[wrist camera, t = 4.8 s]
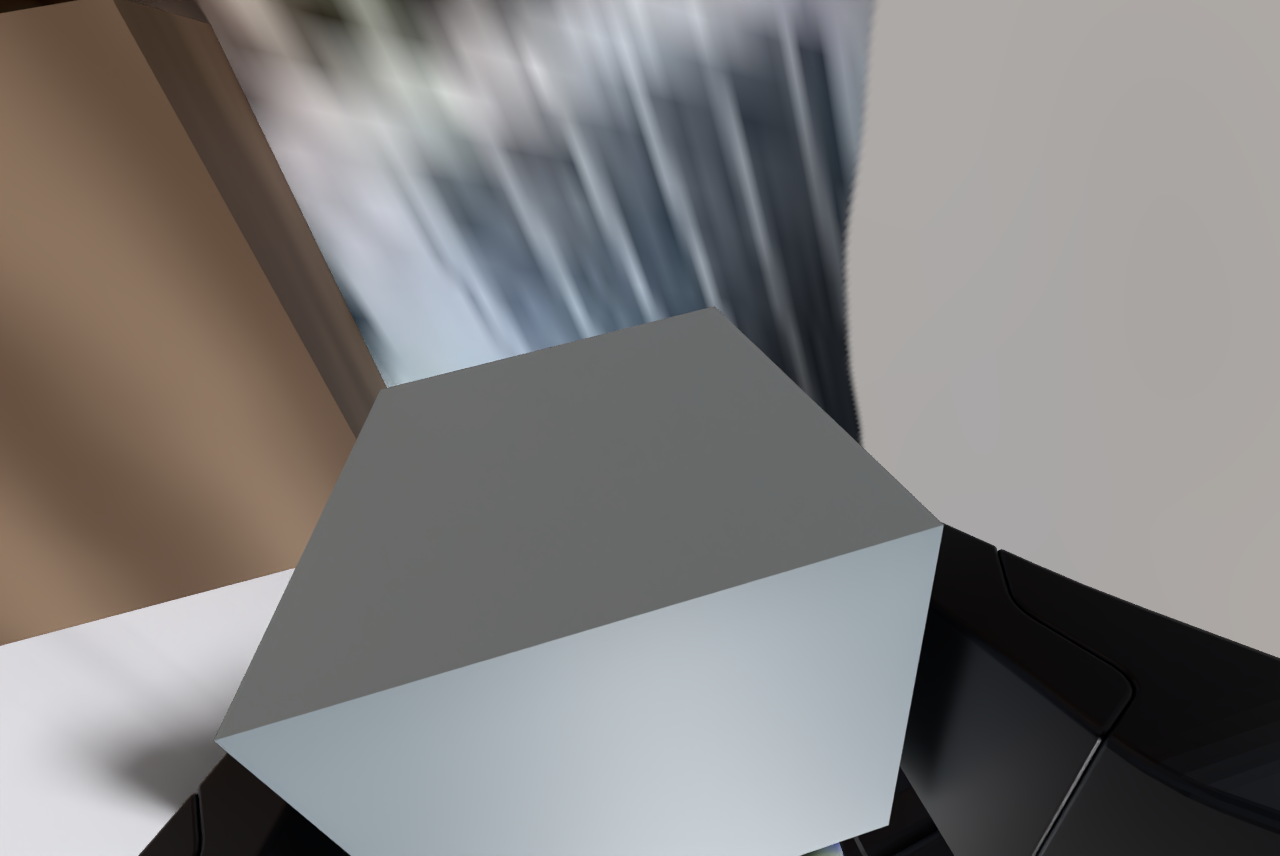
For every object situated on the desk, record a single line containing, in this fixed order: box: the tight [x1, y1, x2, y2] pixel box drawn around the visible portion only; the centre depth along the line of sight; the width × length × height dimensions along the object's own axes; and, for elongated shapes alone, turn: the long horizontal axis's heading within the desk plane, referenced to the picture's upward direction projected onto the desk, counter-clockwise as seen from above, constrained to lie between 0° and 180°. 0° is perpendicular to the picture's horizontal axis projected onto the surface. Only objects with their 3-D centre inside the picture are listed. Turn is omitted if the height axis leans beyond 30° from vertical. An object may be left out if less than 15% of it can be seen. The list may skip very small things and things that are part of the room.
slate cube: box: [214, 306, 944, 856], centre depth 7 cm, size 5×5×5 cm
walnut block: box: [0, 0, 387, 646], centre depth 14 cm, size 13×13×4 cm
